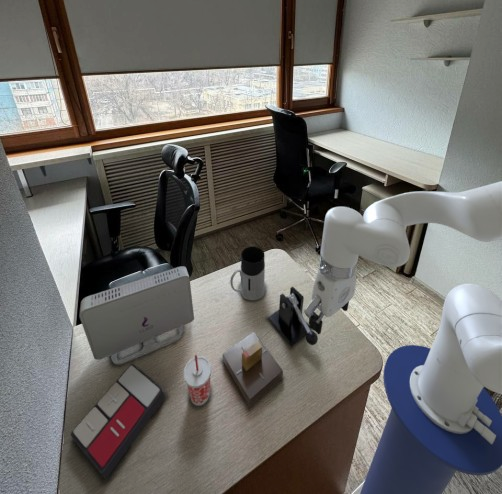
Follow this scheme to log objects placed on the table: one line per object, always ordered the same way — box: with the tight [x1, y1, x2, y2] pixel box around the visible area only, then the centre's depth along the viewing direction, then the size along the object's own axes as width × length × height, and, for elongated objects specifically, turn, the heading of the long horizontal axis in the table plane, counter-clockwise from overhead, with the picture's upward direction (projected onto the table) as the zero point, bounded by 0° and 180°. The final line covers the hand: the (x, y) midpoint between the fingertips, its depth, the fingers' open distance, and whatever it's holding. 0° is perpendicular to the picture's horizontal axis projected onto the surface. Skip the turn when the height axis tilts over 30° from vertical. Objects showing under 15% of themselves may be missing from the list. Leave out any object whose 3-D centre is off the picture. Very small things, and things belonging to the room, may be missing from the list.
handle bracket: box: [267, 286, 312, 348], centre depth 77 cm, size 10×8×12 cm
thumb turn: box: [242, 341, 262, 371], centre depth 66 cm, size 5×2×5 cm, turn 127°
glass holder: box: [230, 246, 266, 301], centre depth 86 cm, size 9×14×15 cm, turn 139°
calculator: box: [70, 363, 166, 479], centre depth 58 cm, size 11×4×15 cm
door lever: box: [286, 293, 319, 346], centre depth 73 cm, size 13×3×3 cm
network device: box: [79, 265, 195, 366], centre depth 72 cm, size 26×9×20 cm, turn 116°
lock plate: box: [222, 331, 284, 407], centre depth 68 cm, size 12×10×3 cm
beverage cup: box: [183, 354, 212, 406], centre depth 61 cm, size 6×6×14 cm
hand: (328, 317), depth 64 cm, fingers open, 9 cm apart
